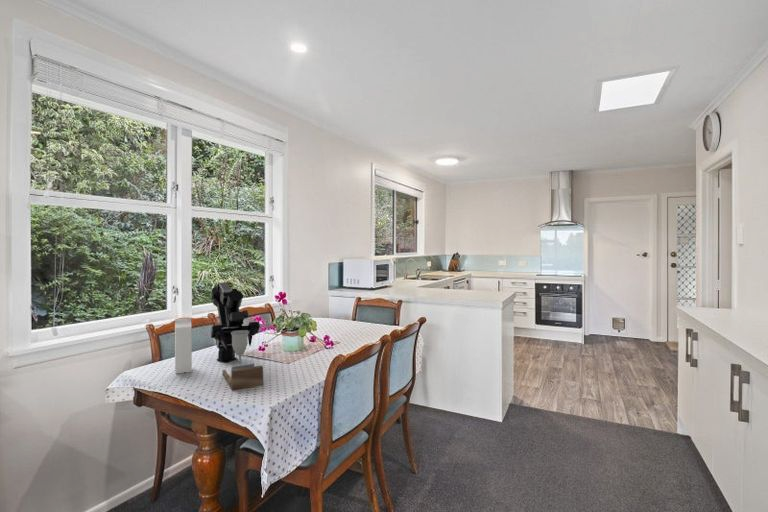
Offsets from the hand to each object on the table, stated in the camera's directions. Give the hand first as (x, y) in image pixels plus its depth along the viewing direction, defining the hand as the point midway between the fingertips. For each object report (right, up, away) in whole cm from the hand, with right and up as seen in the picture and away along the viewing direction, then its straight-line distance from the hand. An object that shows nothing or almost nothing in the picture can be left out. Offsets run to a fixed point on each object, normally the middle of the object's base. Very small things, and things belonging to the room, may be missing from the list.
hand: (238, 347), depth 161 cm
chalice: (+1, -12, -2) cm, 12 cm away
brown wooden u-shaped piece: (+3, -12, -4) cm, 13 cm away
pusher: (+4, -11, -7) cm, 14 cm away
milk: (-25, -11, +5) cm, 28 cm away
